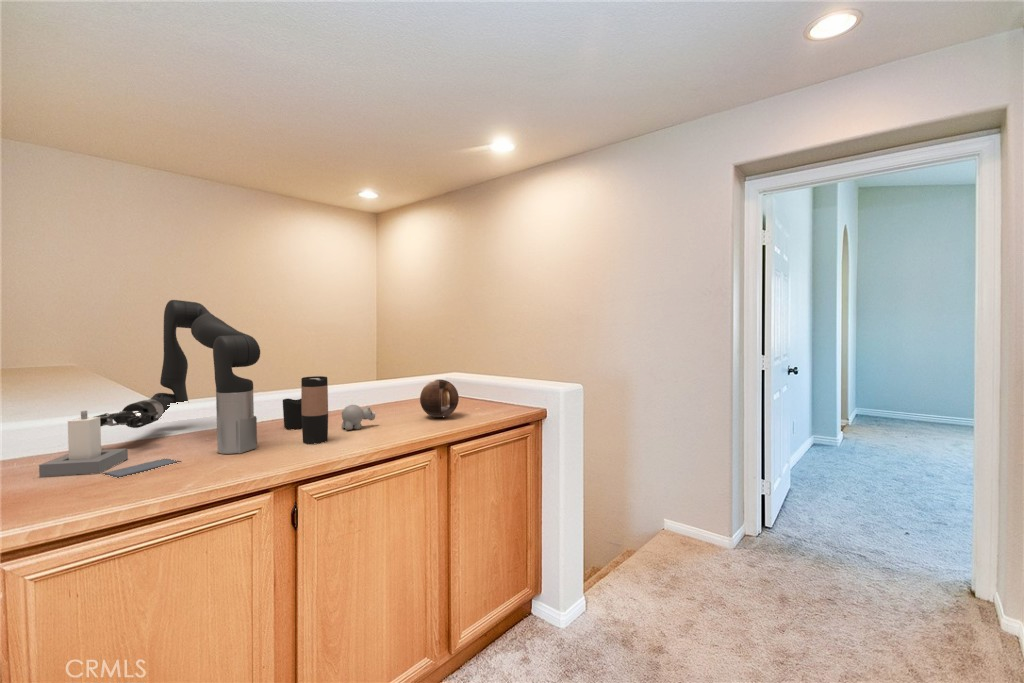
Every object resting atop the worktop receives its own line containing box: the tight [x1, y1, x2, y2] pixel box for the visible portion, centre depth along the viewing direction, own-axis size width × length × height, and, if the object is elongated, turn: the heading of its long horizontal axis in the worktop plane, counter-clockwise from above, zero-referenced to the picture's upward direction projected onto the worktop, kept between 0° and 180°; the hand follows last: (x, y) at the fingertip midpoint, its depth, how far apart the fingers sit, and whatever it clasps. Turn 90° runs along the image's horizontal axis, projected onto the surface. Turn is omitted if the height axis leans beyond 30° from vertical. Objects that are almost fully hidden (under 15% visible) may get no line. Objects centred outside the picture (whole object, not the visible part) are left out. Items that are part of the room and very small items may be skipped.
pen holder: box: [282, 398, 302, 430], centre depth 163 cm, size 9×9×10 cm
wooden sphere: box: [419, 379, 460, 418], centre depth 180 cm, size 15×15×15 cm
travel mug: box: [300, 375, 329, 445], centre depth 142 cm, size 8×8×20 cm
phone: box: [101, 458, 182, 479], centre depth 116 cm, size 7×14×1 cm, turn 156°
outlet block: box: [38, 448, 129, 478], centre depth 116 cm, size 12×12×3 cm
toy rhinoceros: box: [341, 404, 377, 431], centre depth 161 cm, size 7×12×8 cm, turn 126°
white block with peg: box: [67, 410, 102, 460], centre depth 116 cm, size 4×4×14 cm
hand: (111, 424), depth 126 cm, fingers open, 8 cm apart
